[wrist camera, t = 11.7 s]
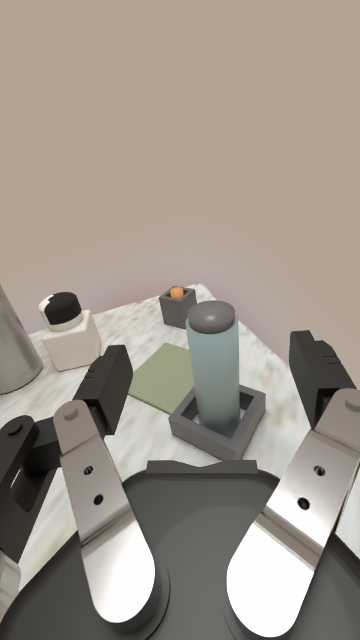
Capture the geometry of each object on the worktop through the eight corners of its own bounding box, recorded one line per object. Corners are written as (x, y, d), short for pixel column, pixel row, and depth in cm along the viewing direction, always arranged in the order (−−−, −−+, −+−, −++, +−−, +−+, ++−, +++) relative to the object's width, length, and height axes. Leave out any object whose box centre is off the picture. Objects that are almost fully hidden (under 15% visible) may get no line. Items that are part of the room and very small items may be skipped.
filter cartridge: (192, 429, 34) (174, 320, 26) (210, 400, 38) (200, 295, 29) (229, 446, 32) (223, 332, 23) (246, 414, 35) (246, 303, 27)
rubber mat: (118, 389, 42) (117, 387, 42) (165, 344, 50) (165, 342, 50) (184, 421, 36) (183, 418, 35) (226, 363, 43) (226, 361, 43)
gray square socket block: (164, 323, 56) (158, 297, 53) (178, 311, 59) (173, 286, 56) (184, 328, 53) (180, 301, 50) (198, 315, 56) (194, 289, 53)
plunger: (172, 316, 55) (167, 291, 53) (179, 310, 57) (174, 286, 54) (182, 318, 54) (177, 293, 51) (188, 312, 56) (185, 288, 53)
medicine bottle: (101, 340, 54) (81, 284, 48) (98, 363, 48) (74, 303, 42) (65, 348, 54) (39, 293, 48) (57, 372, 48) (26, 313, 41)
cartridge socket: (172, 434, 34) (168, 418, 33) (206, 387, 40) (204, 372, 38) (236, 467, 30) (235, 451, 28) (265, 410, 35) (265, 393, 34)
